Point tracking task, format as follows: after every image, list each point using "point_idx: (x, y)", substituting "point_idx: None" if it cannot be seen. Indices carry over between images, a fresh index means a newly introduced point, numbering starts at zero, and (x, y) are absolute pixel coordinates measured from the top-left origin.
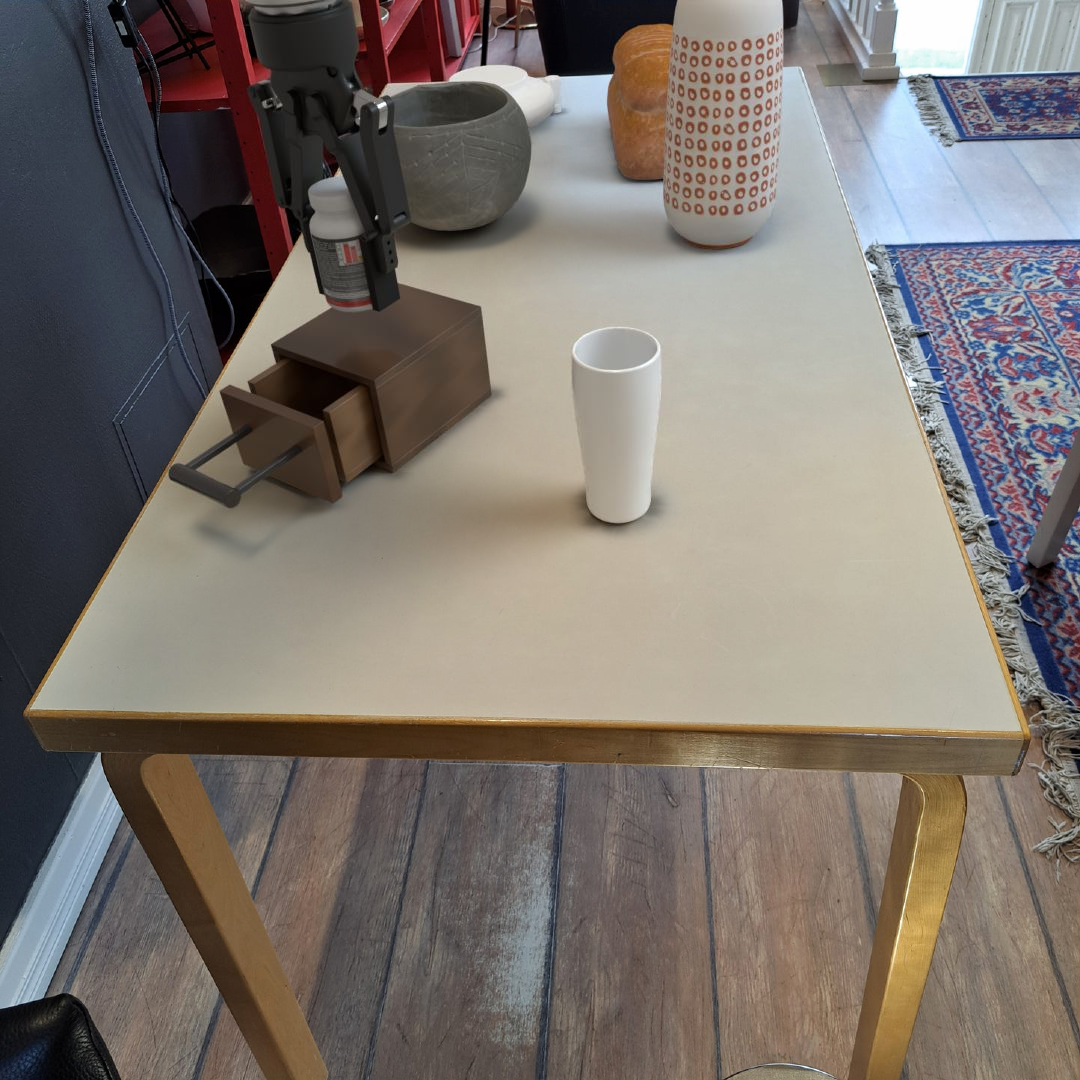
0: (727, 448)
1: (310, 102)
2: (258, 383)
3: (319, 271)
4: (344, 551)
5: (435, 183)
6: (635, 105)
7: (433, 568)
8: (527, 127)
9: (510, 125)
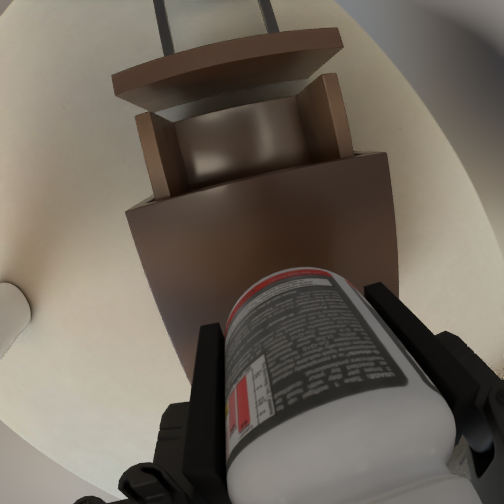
0: (41, 392)
1: None
2: (322, 84)
3: (389, 313)
4: (95, 81)
5: (457, 462)
6: None
7: (27, 140)
8: None
9: None
